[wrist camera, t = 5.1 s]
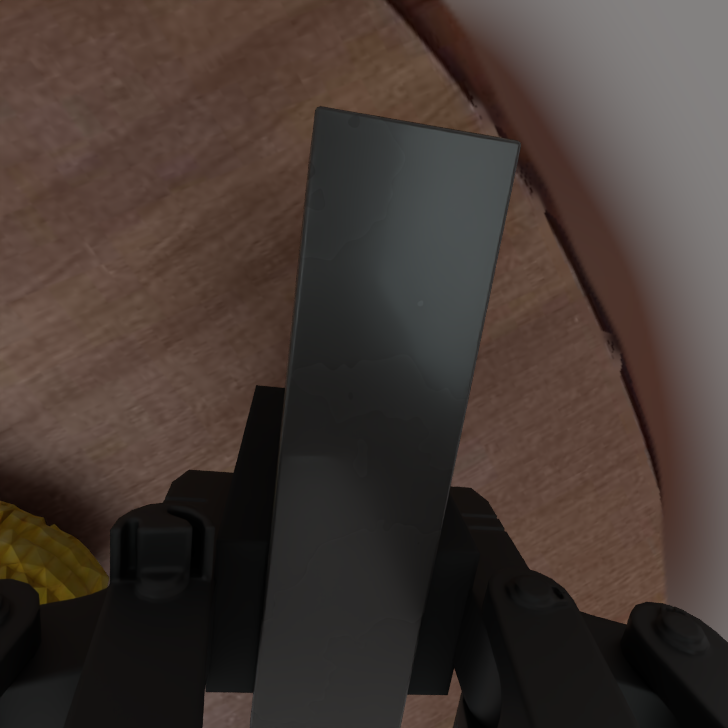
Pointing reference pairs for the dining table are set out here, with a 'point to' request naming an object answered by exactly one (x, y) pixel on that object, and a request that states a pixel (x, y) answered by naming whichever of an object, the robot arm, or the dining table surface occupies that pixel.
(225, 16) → the dining table surface
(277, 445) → the robot arm
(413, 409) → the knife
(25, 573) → the food
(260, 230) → the dining table surface
